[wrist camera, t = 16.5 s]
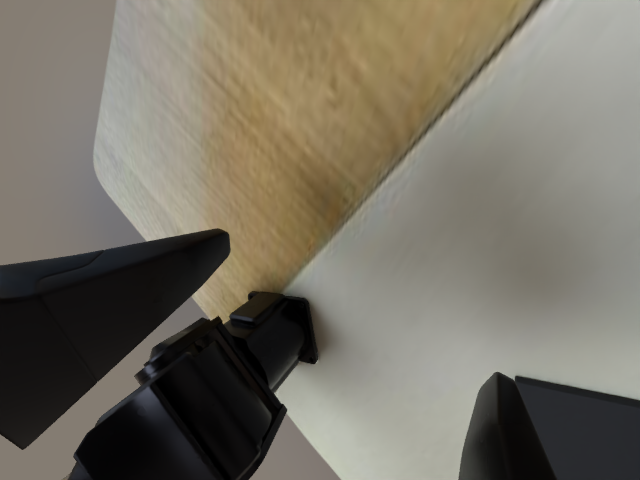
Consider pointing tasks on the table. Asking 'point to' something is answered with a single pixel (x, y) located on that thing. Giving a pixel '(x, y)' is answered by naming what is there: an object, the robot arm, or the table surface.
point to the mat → (584, 431)
